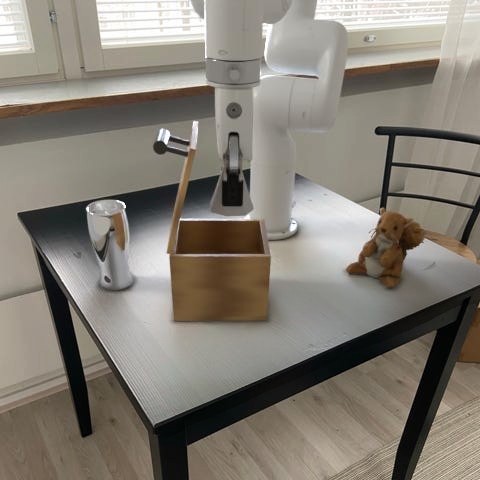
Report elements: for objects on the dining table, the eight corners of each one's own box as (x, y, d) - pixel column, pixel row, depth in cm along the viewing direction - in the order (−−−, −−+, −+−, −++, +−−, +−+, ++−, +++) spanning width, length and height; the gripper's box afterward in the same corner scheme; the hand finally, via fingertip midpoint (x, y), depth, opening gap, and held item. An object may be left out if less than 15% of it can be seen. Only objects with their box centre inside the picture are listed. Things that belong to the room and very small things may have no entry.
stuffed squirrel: (342, 273, 98) (352, 211, 90) (380, 250, 106) (392, 190, 98) (386, 293, 92) (401, 228, 85) (423, 267, 101) (440, 205, 93)
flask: (249, 220, 76) (252, 155, 70) (204, 215, 77) (202, 150, 71) (257, 202, 82) (260, 140, 76) (214, 197, 83) (214, 136, 77)
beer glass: (100, 272, 96) (88, 199, 87) (136, 272, 97) (128, 198, 88) (95, 292, 91) (81, 216, 82) (133, 291, 91) (124, 215, 82)
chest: (260, 278, 96) (264, 218, 89) (266, 320, 85) (271, 256, 77) (178, 278, 95) (174, 218, 88) (173, 321, 84) (169, 256, 77)
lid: (198, 122, 78) (162, 111, 77) (195, 149, 67) (153, 138, 66) (177, 216, 88) (144, 208, 86) (171, 254, 76) (133, 246, 75)
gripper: (266, 85, 61) (259, 221, 72) (256, 61, 75) (251, 179, 86) (205, 84, 61) (207, 221, 72) (206, 60, 75) (208, 179, 85)
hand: (231, 197), depth 79 cm, fingers closed on flask, 4 cm apart
